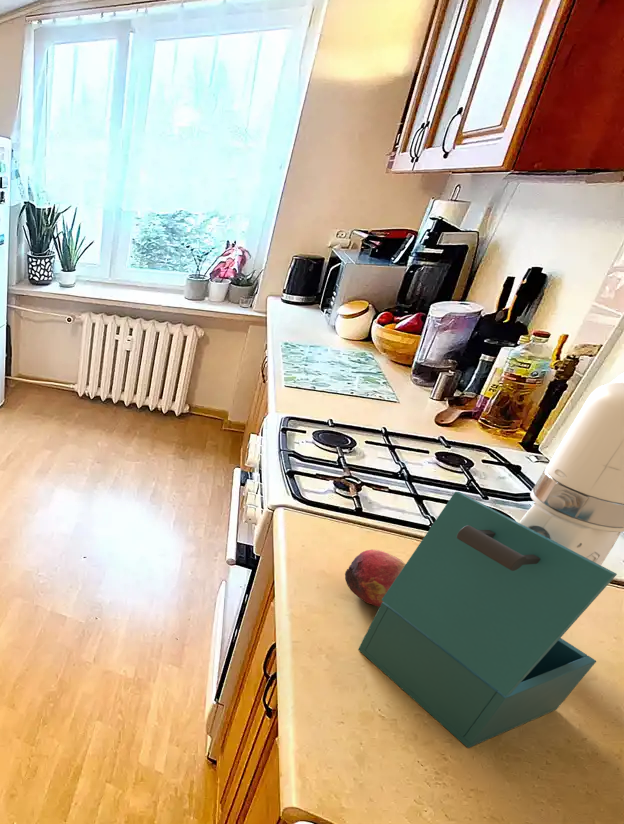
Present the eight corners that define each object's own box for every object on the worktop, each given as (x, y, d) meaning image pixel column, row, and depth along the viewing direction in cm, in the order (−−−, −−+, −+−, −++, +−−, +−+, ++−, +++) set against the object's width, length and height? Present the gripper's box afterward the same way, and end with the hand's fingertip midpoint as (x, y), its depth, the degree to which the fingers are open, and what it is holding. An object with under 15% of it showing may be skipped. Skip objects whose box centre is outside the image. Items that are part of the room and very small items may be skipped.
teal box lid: (459, 491, 59) (428, 490, 57) (617, 574, 48) (586, 577, 46) (385, 599, 66) (354, 602, 64) (509, 695, 54) (477, 702, 52)
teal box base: (438, 622, 74) (466, 576, 70) (556, 709, 63) (597, 661, 59) (357, 649, 70) (381, 602, 66) (467, 748, 58) (505, 698, 54)
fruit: (407, 626, 73) (430, 585, 70) (345, 611, 76) (365, 570, 72) (390, 588, 80) (411, 548, 76) (333, 575, 82) (351, 535, 79)
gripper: (579, 536, 49) (491, 665, 57) (683, 505, 54) (587, 628, 62) (490, 491, 55) (422, 613, 64) (589, 467, 60) (514, 583, 68)
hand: (504, 619), depth 63 cm, fingers closed on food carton, 5 cm apart
